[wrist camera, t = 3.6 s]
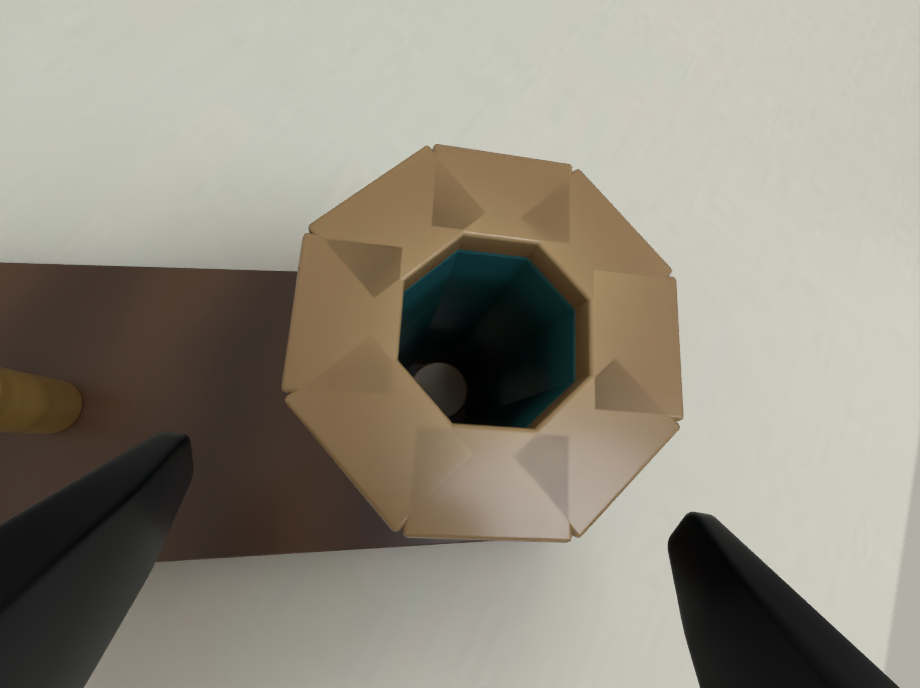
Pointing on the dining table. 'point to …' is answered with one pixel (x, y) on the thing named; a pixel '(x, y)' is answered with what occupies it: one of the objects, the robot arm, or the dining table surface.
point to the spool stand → (180, 403)
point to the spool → (485, 346)
